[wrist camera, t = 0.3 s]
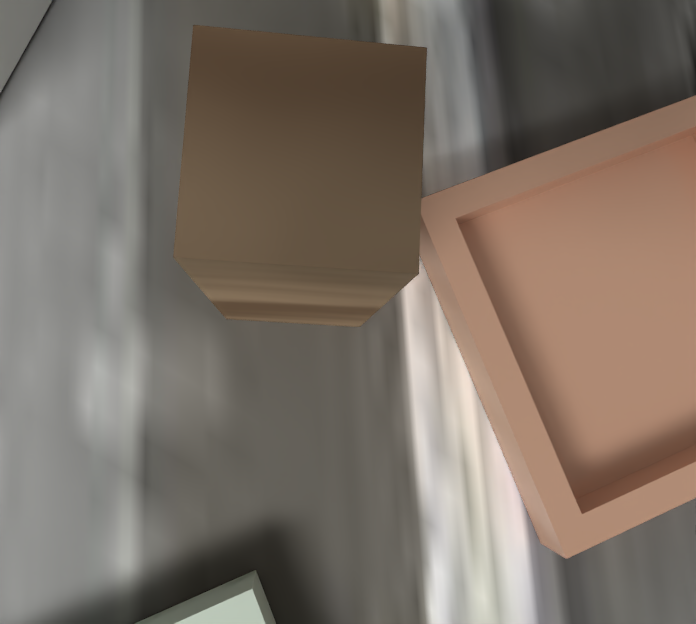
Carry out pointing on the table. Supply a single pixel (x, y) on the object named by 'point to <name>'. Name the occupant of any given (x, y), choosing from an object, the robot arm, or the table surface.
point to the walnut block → (301, 174)
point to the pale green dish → (221, 605)
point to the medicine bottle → (17, 31)
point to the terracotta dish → (581, 320)
